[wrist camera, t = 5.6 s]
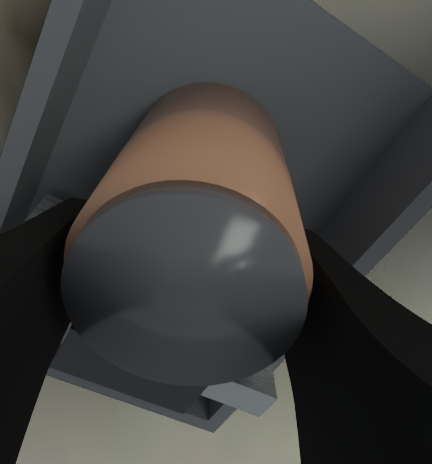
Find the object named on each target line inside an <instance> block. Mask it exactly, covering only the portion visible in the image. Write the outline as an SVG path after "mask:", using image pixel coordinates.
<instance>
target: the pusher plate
mask: <svg viewBox="0 0 432 464" xmlns="http://www.w3.org/2000/svg"><path fill="white" fill-rule="evenodd" d="M61 202H63V200H61V199H59V198H57V197H54V196H52V195H50V194H48V193H47V194H46V195H45V197H44V198H43V199H42V200H41V201H40V203H39V204H38V205H37V206H36V208H35V209H34V210H33V211H32V213H31V214H30V215H29V216H28V217H27V219H26V220H25V221H24V222H26V221H27V220H29V219H31V218H33V217H35V216H37V215H39V214H41V213H42V212H44V211H46V210H48V209H50V208H51V207H53V206H55V205H57V204H59V203H61ZM24 222H23V223H24ZM49 368H52V369H55V370H58V371H61V372H64V373H67V374H69V375H72V376H75V377H78V378H81V379H84V380H87V381H89V382H92V383H95V384H98V385H101V386H104V387H106V388H109V389H112V390H115V391H118V392H121V393H124V394H126V395H129V396H132V397H135V398H138V399H141V400H144V401H146V402H149V403H152V404H155V405H158V406H161V407H164V408H166V409H169V410H172V411H175V412H178V413H181V414H184V413H185V412H186V411H187V410H188V409H189V407H190V406H191V405H192V404H193V403H194V402H195V401H196V399H197V398H198V397H199V396H200V395H202V396H204V397H207V398H210V399H213V400H215V401H218V402H221V403H223V404H226V405H229V406H231V407H234V408H237V409H240V410H242V411H245V412H248V413H250V414H253V415H256V416H258V417H259V416H260V415H261V414H262V413H263V412H264V411H265V410H267V409H268V408H269V407H270V406H271V405H272V404H273V403H274V402H275V401H276V400H277V394H276V388H275V382H274V375H273V369H272V364H271V365H270V366H268V367H267V368H265V369H263V370H261V371H259V372H257V373H255V374H253V375H251V376H248V377H246V378H243V379H240V380H237V381H233V382H229V383H224V384H218V385H210V386H180V385H171V384H165V383H160V382H156V381H152V380H148V379H145V378H142V377H139V376H136V375H134V374H131V373H129V372H127V371H125V370H123V369H120V368H119V367H117V366H115V365H114V364H112V363H110V362H108V361H107V360H106V359H104V358H103V357H101V356H100V355H99V354H97V353H96V352H95V351H94V350H93V349H92V348H91V347H90V346H88V345H87V343H86V342H85V341H84V340H83V339H82V338H81V337H80V336H79V334H78V333H77V331H76V330H75V328H74V327H73V326H72V324H71V322H70V324H69V326H68V328H67V331H66V333H65V335H64V337H63V339H62V341H61V343H60V345H59V347H58V349H57V351H56V353H55V355H54V357H53V359H52V362H51V364H50V366H49Z"/></svg>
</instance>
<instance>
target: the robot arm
mask: <svg viewBox="0 0 432 464" xmlns="http://www.w3.org/2000/svg"><path fill="white" fill-rule="evenodd" d="M87 201H88V200H86V199H79V198H72V197H71V198H69V199H67V200H64V201H63V202H61V203H59V204H57V205H55V206H53V207H51V208H50V209H48V210H46V211H44V212H42V213H41V214H39V215H37V216H35V217H33V218H31V219H29V220H27V221H26V222H24V223H22V224H20V225H18V226H16V227H14V228H12V229H10V230H8V231H6V232H3V233H1V234H0V464H16V461H17V458H18V454H19V451H20V448H21V445H22V442H23V439H24V436H25V433H26V430H27V427H28V424H29V421H30V418H31V415H32V412H33V410H34V407H35V404H36V401H37V398H38V396H39V393H40V390H41V387H42V384H43V381H44V379H45V376H46V374H47V371H48V369H49V366H50V364H51V362H52V359H53V357H54V355H55V353H56V351H57V349H58V347H59V345H60V343H61V341H62V339H63V337H64V335H65V333H66V331H67V328H68V326H69V324H70V320H69V318H68V316H67V314H66V311H65V308H64V305H63V301H62V295H61V274H62V268H63V264H64V249H65V244H66V239H67V236H68V234H69V231H70V228H71V226H72V224H73V223H74V221H75V219H76V218H77V216H78V214H79V213H80V211H81V210H82V208H83V207H84V205H85V204H86V202H87ZM304 231H305V235H306V239H307V243H308V247H309V251H310V255H311V259H312V264H313V285H312V291H311V295H310V298H309V302H308V308H307V315H306V319H305V322H304V325H303V328H302V330H301V332H300V334H299V336H298V338H297V339H296V340H295V342H294V343H293V345H292V346H291V347H290V348H289V349H288V351H287V352H286V353H285V354H284V355H285V359H286V364H287V368H288V372H289V377H290V381H291V386H292V391H293V397H294V403H295V412H296V420H297V429H298V438H299V448H300V458H301V464H432V324H430V323H428V322H427V321H425V320H423V319H422V318H420V317H419V316H417V315H416V314H414V313H413V312H411V311H410V310H408V309H407V308H405V307H404V306H402V305H401V304H400V303H398V302H397V301H395V300H394V299H393V298H391V297H390V296H388V295H387V294H386V293H385V292H383V291H382V290H381V289H379V288H378V287H377V286H376V285H374V284H373V283H372V282H371V281H369V280H368V279H367V278H366V277H365V276H363V275H362V274H361V273H360V272H359V271H357V270H356V269H355V268H354V267H353V266H352V265H351V264H350V263H348V262H347V261H346V260H345V259H344V258H343V257H342V256H341V255H339V254H338V253H337V252H336V251H335V250H334V249H333V248H332V247H331V246H330V245H329V244H327V243H326V242H325V241H324V240H323V239H322V238H321V237H319V236H318V235H317V234H316V233H315V232H313V231H312V230H308V229H304Z"/></svg>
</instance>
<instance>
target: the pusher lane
mask: <svg viewBox="0 0 432 464" xmlns="http://www.w3.org/2000/svg"><path fill="white" fill-rule="evenodd" d="M205 82H210V83H220V84H224V85H228V86H232V87H234V88H237V89H239V90H241V91H243V92H245V93H247V94H249V95H250V96H251V97H253V98H254V99H255V100H257V101H258V102H259V103H260V104H261V105H262V106H263V107H264V108H265V109H266V111H267V112H268V113H269V114H270V116H271V117H272V119H273V121H274V123H275V124H276V127H277V129H278V132H279V135H280V139H281V143H282V146H283V150H284V154H285V158H286V162H287V166H288V170H289V173H290V177H291V181H292V185H293V189H294V193H295V197H296V201H297V204H298V208H299V212H300V216H301V220H302V224H303V228H304V229H308V230H312V231H313V232H315V233H316V234H317V235H318V236H319V237H321V238H322V239H323V240H324V241H325V242H326V243H327V244H329V245H330V246H331V247H332V248H333V249H334V250H335V251H336V252H337V253H338V254H339V255H341V256H342V257H343V258H344V259H345V260H346V261H347V262H348V263H350V264H351V265H352V266H353V267H354V268H355V269H356V270H357V271H359V272H360V273H361V274H362V275H363V276H366V275H367V274H368V273H369V271H370V270H371V269H372V268H373V267H374V266H375V265H376V264H377V263H378V262H379V261H380V260H381V259H382V258H383V257H384V256H385V255H386V254H387V253H388V252H389V251H390V250H391V249H392V248H393V247H394V246H395V245H396V244H397V243H398V242H399V240H400V239H401V238H402V237H403V236H404V235H405V234H406V233H407V232H408V231H409V230H410V229H411V228H412V227H413V226H414V225H415V224H416V223H417V222H418V221H419V220H420V219H421V218H422V217H423V216H424V215H425V214H426V213H427V212H428V210H429V209H430V208H431V207H432V88H431V87H430V86H428V85H427V84H426V83H424V82H423V81H421V80H420V79H419V78H417V77H416V76H415V75H413V74H412V73H410V72H409V71H408V70H406V69H405V68H404V67H402V66H401V65H400V64H398V63H397V62H395V61H394V60H393V59H391V58H390V57H389V56H387V55H386V54H384V53H383V52H382V51H380V50H379V49H378V48H376V47H375V46H373V45H372V44H371V43H369V42H368V41H367V40H365V39H364V38H363V37H361V36H360V35H358V34H357V33H356V32H354V31H353V30H352V29H350V28H349V27H347V26H346V25H345V24H343V23H342V22H341V21H339V20H338V19H336V18H335V17H334V16H332V15H331V14H330V13H328V12H327V11H326V10H324V9H323V8H321V7H320V6H319V5H317V4H316V3H315V2H313V1H312V0H52V1H51V4H50V7H49V10H48V13H47V16H46V19H45V22H44V25H43V28H42V31H41V34H40V37H39V40H38V43H37V46H36V50H35V53H34V56H33V59H32V62H31V65H30V68H29V71H28V74H27V77H26V80H25V83H24V86H23V89H22V92H21V95H20V98H19V101H18V105H17V108H16V111H15V114H14V117H13V120H12V123H11V126H10V129H9V132H8V135H7V138H6V141H5V144H4V147H3V150H2V153H1V156H0V234H1V233H3V232H6V231H8V230H10V229H12V228H14V227H16V226H18V225H20V224H22V223H23V222H24V221H25V220H26V219H27V217H28V216H29V215H30V214H31V213H32V211H33V210H34V209H35V208H36V206H37V205H38V204H39V203H40V201H41V200H42V199H43V198H44V197H45V195H46V194H47V193H48V194H50V195H52V196H54V197H57V198H59V199H61V200H63V201H64V200H67V199H69V198H71V197H72V198H79V199H86V200H88V199H89V198H90V196H91V195H92V193H93V192H94V190H95V189H96V187H97V186H98V185H99V183H100V182H101V180H102V179H103V177H104V176H105V174H106V173H107V171H108V170H109V168H110V167H111V165H112V164H113V162H114V161H115V159H116V158H117V156H118V155H119V153H120V152H121V150H122V149H123V147H124V146H125V144H126V143H127V141H128V140H129V138H130V137H131V135H132V134H133V132H134V131H135V129H136V128H137V127H138V125H139V124H140V122H141V121H142V119H143V118H144V116H145V115H146V113H147V112H148V111H149V109H150V108H151V107H152V106H153V105H154V104H155V103H156V102H157V101H158V100H159V99H160V98H161V97H163V96H164V95H166V94H167V93H169V92H171V91H173V90H175V89H177V88H179V87H182V86H185V85H189V84H194V83H205ZM284 359H285V355H283V356H282V357H280V358H279V359H278V360H277V361H276V362H274V363H273V364H272V369H273V371H274V370H275V369H276V368H277V367H278V366H279V365H280V364H281V362H282V361H283V360H284ZM46 375H48V376H51V377H53V378H56V379H59V380H62V381H65V382H68V383H71V384H74V385H77V386H80V387H82V388H85V389H88V390H91V391H94V392H97V393H100V394H103V395H106V396H109V397H111V398H114V399H117V400H120V401H123V402H126V403H129V404H132V405H135V406H138V407H140V408H143V409H146V410H149V411H152V412H155V413H158V414H161V415H164V416H167V417H169V418H172V419H175V420H178V421H181V422H184V423H187V424H190V425H193V426H196V427H198V428H201V429H204V430H207V431H210V432H213V433H214V432H215V431H216V430H217V429H218V428H219V427H220V426H221V425H222V424H223V422H224V421H225V420H226V419H227V418H228V417H229V416H230V415H231V414H232V413H233V412H234V411H235V410H236V409H237V408H234V407H231V406H229V405H226V404H223V403H221V402H218V401H215V400H213V399H210V398H207V397H204V396H202V395H200V396H199V397H198V398H197V399H196V401H195V402H194V403H193V404H192V405H191V406H190V407H189V409H188V410H187V411H186V412H185V413H184V414H181V413H178V412H175V411H172V410H169V409H166V408H164V407H161V406H158V405H155V404H152V403H149V402H146V401H144V400H141V399H138V398H135V397H132V396H129V395H126V394H124V393H121V392H118V391H115V390H112V389H109V388H106V387H104V386H101V385H98V384H95V383H92V382H89V381H87V380H84V379H81V378H78V377H75V376H72V375H69V374H67V373H64V372H61V371H58V370H55V369H52V368H49V369H48V371H47V374H46Z"/></svg>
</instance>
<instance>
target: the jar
mask: <svg viewBox="0 0 432 464" xmlns="http://www.w3.org/2000/svg"><path fill="white" fill-rule="evenodd" d="M312 285H313V264H312V259H311V255H310V251H309V247H308V243H307V239H306V235H305V231H304V228H303V224H302V220H301V216H300V212H299V208H298V204H297V201H296V197H295V193H294V189H293V185H292V181H291V177H290V173H289V170H288V166H287V162H286V158H285V154H284V150H283V146H282V143H281V139H280V135H279V132H278V129H277V127H276V124H275V123H274V121H273V119H272V117H271V116H270V114H269V113H268V112H267V111H266V109H265V108H264V107H263V106H262V105H261V104H260V103H259V102H258V101H257V100H255V99H254V98H253V97H251V96H250V95H249V94H247V93H245V92H243V91H241V90H239V89H237V88H234V87H232V86H228V85H224V84H220V83H210V82H205V83H194V84H189V85H185V86H182V87H179V88H177V89H175V90H173V91H171V92H169V93H167V94H166V95H164V96H163V97H161V98H160V99H159V100H158V101H157V102H156V103H155V104H154V105H153V106H152V107H151V108H150V109H149V111H148V112H147V113H146V115H145V116H144V118H143V119H142V121H141V122H140V124H139V125H138V127H137V128H136V129H135V131H134V132H133V134H132V135H131V137H130V138H129V140H128V141H127V143H126V144H125V146H124V147H123V149H122V150H121V152H120V153H119V155H118V156H117V158H116V159H115V161H114V162H113V164H112V165H111V167H110V168H109V170H108V171H107V173H106V174H105V176H104V177H103V179H102V180H101V182H100V183H99V185H98V186H97V187H96V189H95V190H94V192H93V193H92V195H91V196H90V198H89V199H88V201H87V202H86V204H85V205H84V207H83V208H82V210H81V211H80V213H79V214H78V216H77V218H76V219H75V221H74V223H73V224H72V226H71V228H70V231H69V234H68V236H67V239H66V244H65V249H64V264H63V268H62V274H61V295H62V301H63V305H64V308H65V311H66V314H67V316H68V318H69V320H70V322H71V324H72V326H73V327H74V328H75V330H76V331H77V333H78V334H79V336H80V337H81V338H82V339H83V340H84V341H85V342H86V343H87V345H88V346H90V347H91V348H92V349H93V350H94V351H95V352H96V353H97V354H99V355H100V356H101V357H103V358H104V359H106V360H107V361H108V362H110V363H112V364H114V365H115V366H117V367H119V368H120V369H123V370H125V371H127V372H129V373H131V374H134V375H136V376H139V377H142V378H145V379H148V380H152V381H156V382H160V383H165V384H171V385H180V386H210V385H218V384H224V383H229V382H233V381H237V380H240V379H243V378H246V377H248V376H251V375H253V374H255V373H257V372H259V371H261V370H263V369H265V368H267V367H268V366H270V365H271V364H273V363H274V362H276V361H277V360H278V359H279V358H280V357H282V356H283V355H284V354H285V353H286V352H287V351H288V349H289V348H290V347H291V346H292V345H293V343H294V342H295V340H296V339H297V338H298V336H299V334H300V332H301V330H302V328H303V325H304V322H305V319H306V315H307V308H308V302H309V298H310V295H311V291H312Z"/></svg>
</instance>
